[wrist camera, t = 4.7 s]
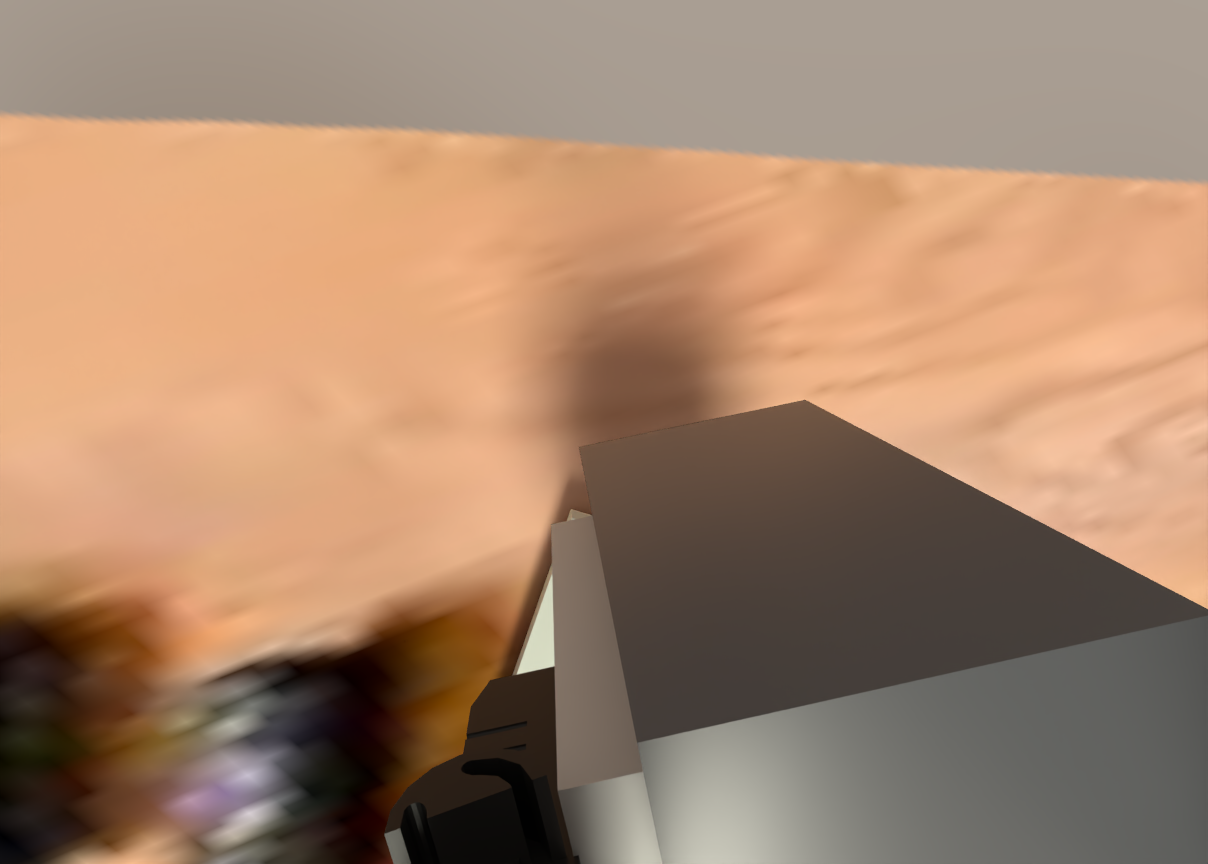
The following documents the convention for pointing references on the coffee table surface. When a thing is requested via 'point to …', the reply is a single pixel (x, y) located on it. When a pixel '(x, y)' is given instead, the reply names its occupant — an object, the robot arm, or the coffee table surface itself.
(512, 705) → the robot arm
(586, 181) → the coffee table surface
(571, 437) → the coffee table surface
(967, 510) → the gray rectangular block
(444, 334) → the coffee table surface
